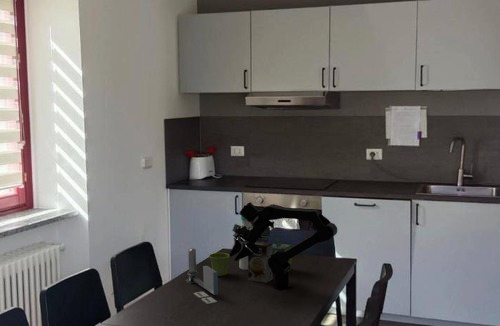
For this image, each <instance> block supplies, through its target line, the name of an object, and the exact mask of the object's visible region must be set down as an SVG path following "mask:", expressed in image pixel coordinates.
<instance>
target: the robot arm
mask: <svg viewBox="0 0 500 326" xmlns="http://www.w3.org/2000/svg"><path fill="white" fill-rule="evenodd" d="M239 215H240V217H241V216H242V217H243V218H245V219H246V220H247V221H248V222H249V223H250V222H251V223H252V226H251V227H250V226H248V227H246V226H243V225H242V226H241V224H240V225H239V224H237V223H234V225H233V228H232V232H234V233H233V235H232V236H233V241H234V243H233V246H232V248H231V250H230V252H229V253H228V254H229V256H230V257H229V258H232V257H234V256H235V257H234V259H233V260H234V261H235V262H237V261H238V262H239V261H240V259H242V258H244V257H246V256H249V255H251V254H253V253H252V252H254V253H255V254H257V253H258V252H259V247H258V246H257V245H256V244H255V242H256V241H259V239H260V240H261V239H262V238H263V236H262V235H263V234H264V233H265V232H266V231H267V230H268V229H269V227H270V228H271V229H273V230H274V229H275V221H276V220H281V219H290V220H301V221H302V220H305V221H310V223H312V224H313V227H314V228H315V229H316V231H315V233H313V234H311V235H310V236H309V237H307V238H305V239H304V240H302V241H300V242H298V243H296V244H295V245H292V248H290V249H288V250H285V251H284V249H283V248H282V249H280V250H279V251H277V252H275V253H273V254H272V255H270V256H271V257H270V258H269V259H268V265H269V267H270V268H271V271H272V275H273V277H274V278H273V279H274V283H271V287H273V288H275V289H277V290H283V289H290V288H292V285H290V283H289V281H290V279H289V277H290V276H289V272H290V271H291V270H290V268H291V265H290V264H289V262H288V261H289V260H290V259H291V258H292V259H293V258H294V257H296V256H297V255H300V254H301V253H302V252H304V251H306V250H308V249H310V248H311V247H313V246H315V245H316V244H320V243H323V242H326V241H329V240H331V239H332V238H334V237H335V236H336V235H337V234H338V227H337V225H336V224H335V223H334V222H332V221H330V219H329V218H327V217H325V215H323V214H322V212H320V211H319V210H318V209H303V208H289V207H288V208H287V207H284V206H281V205H278V204H274V203H271V204H269V205H267V206H265V207H264V208H260V209H259V208H258V207H256V206H255V205H254V204H253V203H252V202H251V201H250V202H247V204H246V205H245V206H244V207H243V208H241V209H240V211H239ZM289 270H290V271H289Z"/></svg>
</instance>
